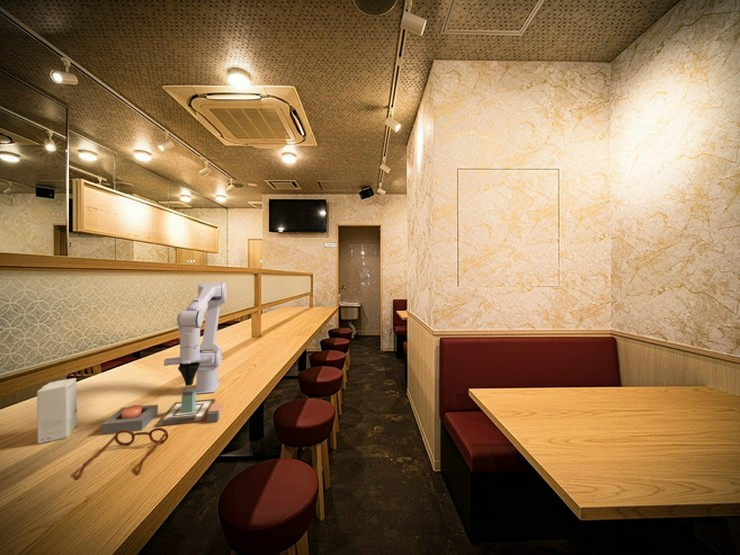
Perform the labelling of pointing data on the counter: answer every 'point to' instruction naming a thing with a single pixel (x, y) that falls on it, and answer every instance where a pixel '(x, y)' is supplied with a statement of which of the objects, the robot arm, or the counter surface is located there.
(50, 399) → the skincare box
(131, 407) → the button
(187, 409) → the block
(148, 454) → the glasses
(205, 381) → the robot arm
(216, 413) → the terracotta marker
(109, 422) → the button housing
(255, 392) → the counter surface
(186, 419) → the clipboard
